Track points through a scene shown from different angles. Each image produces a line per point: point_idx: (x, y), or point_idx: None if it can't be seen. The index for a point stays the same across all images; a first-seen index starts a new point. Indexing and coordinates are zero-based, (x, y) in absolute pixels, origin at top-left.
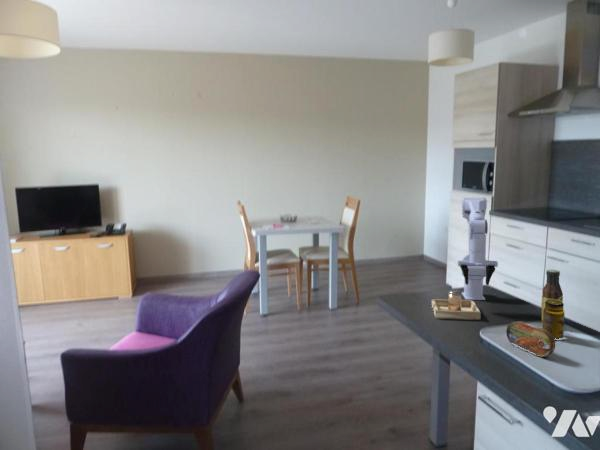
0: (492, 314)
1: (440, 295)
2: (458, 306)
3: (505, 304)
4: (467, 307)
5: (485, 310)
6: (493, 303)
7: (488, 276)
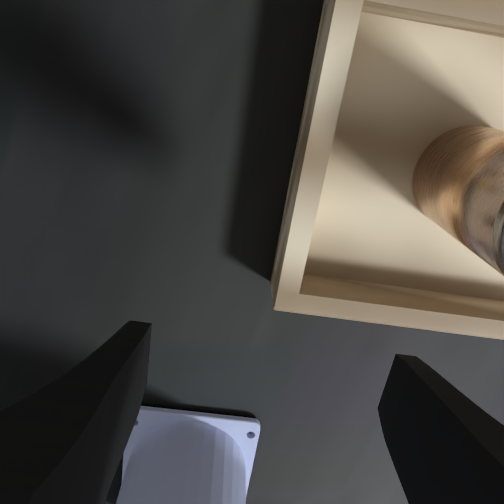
0: (174, 118)
1: (386, 497)
2: (489, 136)
3: (10, 324)
4: (323, 256)
5: (198, 212)
6: (91, 347)
7: (100, 389)
